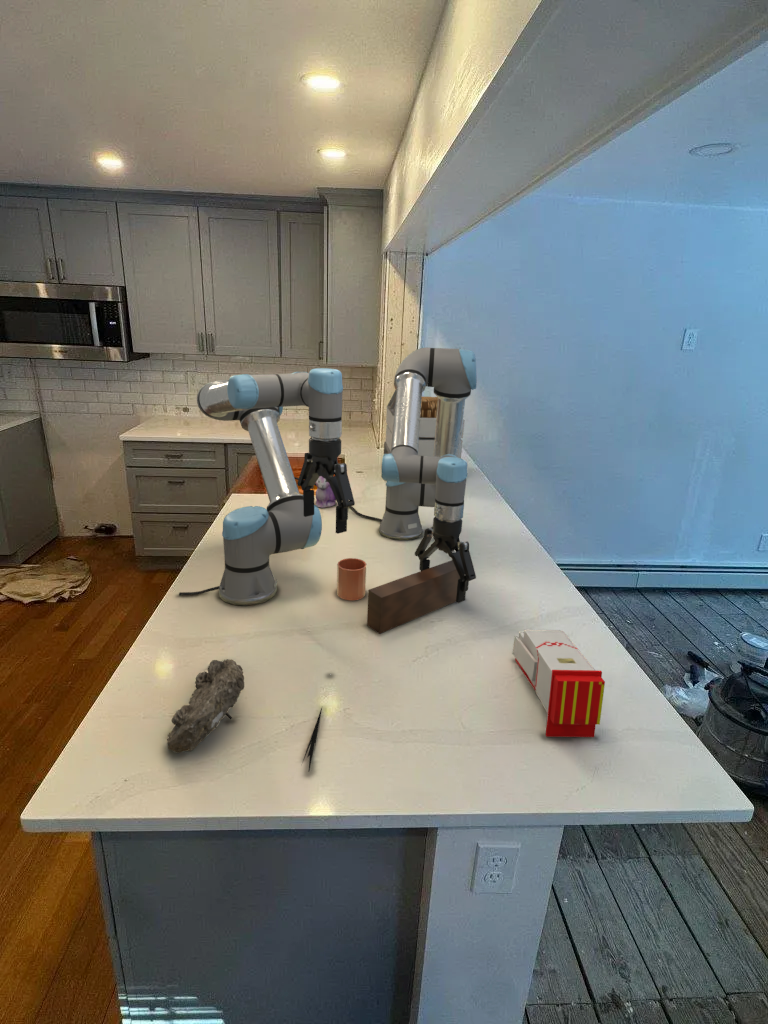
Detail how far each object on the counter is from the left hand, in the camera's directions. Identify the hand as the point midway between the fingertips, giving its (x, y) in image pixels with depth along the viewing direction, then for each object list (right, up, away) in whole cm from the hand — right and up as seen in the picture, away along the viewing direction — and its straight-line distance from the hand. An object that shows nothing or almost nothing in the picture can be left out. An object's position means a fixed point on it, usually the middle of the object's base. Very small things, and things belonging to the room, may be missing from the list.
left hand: (324, 523), depth 138 cm
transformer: (+32, +22, +137) cm, 142 cm away
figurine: (-9, +6, +87) cm, 88 cm away
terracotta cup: (+5, -20, +19) cm, 28 cm away
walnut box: (+23, -23, +11) cm, 35 cm away
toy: (+49, -35, -19) cm, 63 cm away
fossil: (-18, -36, -30) cm, 51 cm away
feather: (+2, -37, -30) cm, 47 cm away
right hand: (+30, -19, +15) cm, 39 cm away
